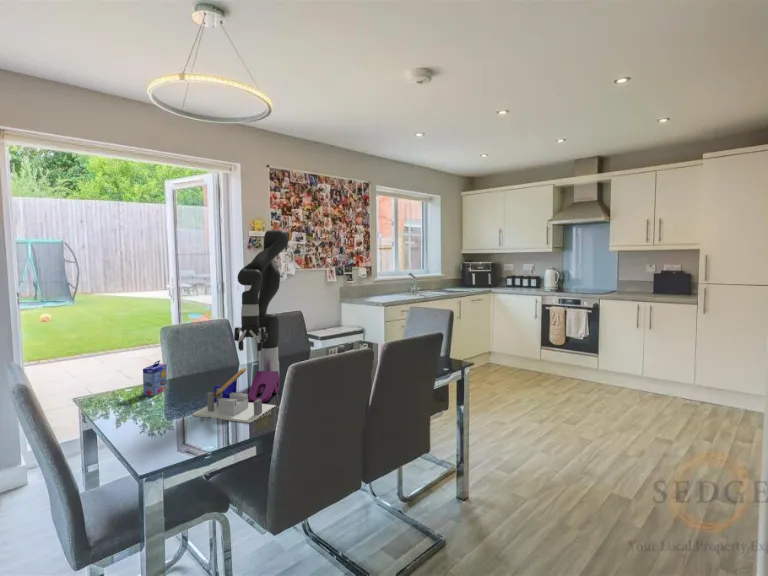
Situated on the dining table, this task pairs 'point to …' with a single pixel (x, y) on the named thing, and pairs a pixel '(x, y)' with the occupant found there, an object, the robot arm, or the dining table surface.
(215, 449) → the dining table surface
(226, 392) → the cable clip
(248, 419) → the board
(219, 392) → the wooden strip
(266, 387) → the mounting bracket
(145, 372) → the ink cartridge box
